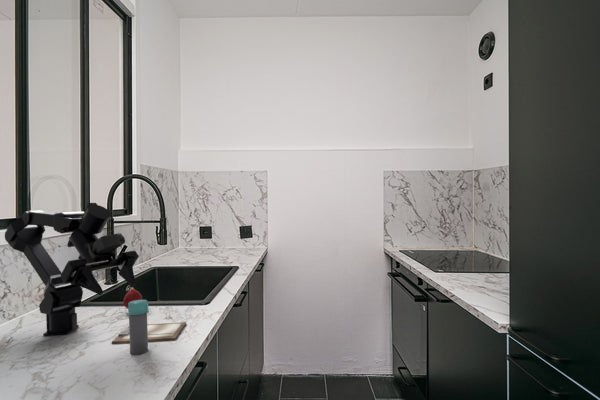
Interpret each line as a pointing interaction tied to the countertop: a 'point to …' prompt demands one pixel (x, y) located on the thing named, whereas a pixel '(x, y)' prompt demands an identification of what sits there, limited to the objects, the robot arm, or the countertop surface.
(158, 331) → the clipboard
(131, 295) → the red rounded piece
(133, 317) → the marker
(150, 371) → the countertop surface
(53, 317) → the robot arm
